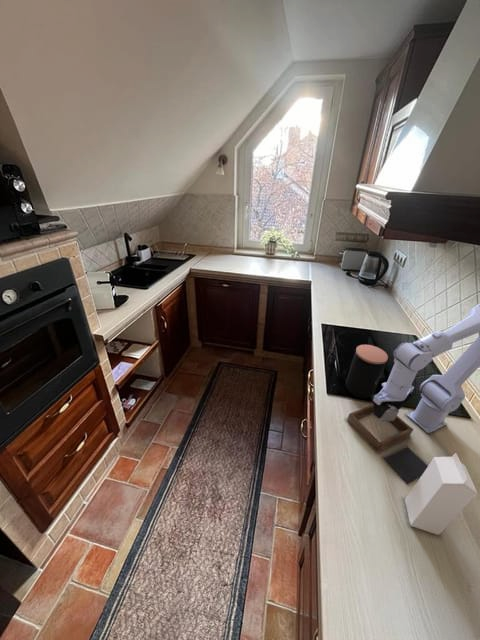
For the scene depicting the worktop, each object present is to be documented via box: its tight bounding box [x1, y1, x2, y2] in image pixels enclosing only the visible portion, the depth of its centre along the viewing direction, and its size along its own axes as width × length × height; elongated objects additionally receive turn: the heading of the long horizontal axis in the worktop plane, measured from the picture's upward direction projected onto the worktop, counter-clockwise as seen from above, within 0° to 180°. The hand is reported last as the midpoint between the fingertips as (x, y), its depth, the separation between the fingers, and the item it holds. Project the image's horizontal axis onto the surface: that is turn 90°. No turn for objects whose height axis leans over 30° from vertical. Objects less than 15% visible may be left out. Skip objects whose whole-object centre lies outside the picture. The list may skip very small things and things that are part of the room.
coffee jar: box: [345, 344, 389, 399], centre depth 96 cm, size 11×11×18 cm
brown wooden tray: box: [346, 403, 414, 453], centre depth 84 cm, size 15×13×4 cm
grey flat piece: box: [380, 405, 400, 422], centre depth 80 cm, size 7×2×8 cm, turn 92°
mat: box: [383, 446, 429, 485], centre depth 74 cm, size 10×8×1 cm
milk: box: [404, 452, 478, 536], centre depth 58 cm, size 6×6×22 cm
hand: (385, 412), depth 81 cm, fingers closed on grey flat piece, 7 cm apart
